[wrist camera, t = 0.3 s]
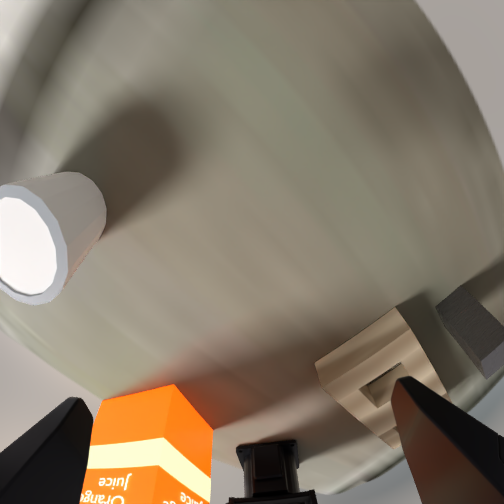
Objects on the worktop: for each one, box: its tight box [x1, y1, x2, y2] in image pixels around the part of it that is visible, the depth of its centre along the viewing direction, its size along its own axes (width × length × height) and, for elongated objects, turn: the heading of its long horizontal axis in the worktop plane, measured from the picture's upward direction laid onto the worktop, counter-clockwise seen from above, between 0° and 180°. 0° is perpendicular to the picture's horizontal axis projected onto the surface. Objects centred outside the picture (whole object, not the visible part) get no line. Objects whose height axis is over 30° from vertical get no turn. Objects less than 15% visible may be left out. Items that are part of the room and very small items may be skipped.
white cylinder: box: [0, 171, 107, 305], centre depth 17 cm, size 7×7×7 cm
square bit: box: [436, 286, 504, 379], centre depth 21 cm, size 3×3×8 cm
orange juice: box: [80, 384, 213, 504], centre depth 19 cm, size 8×9×20 cm
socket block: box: [315, 307, 453, 449], centre depth 26 cm, size 16×8×3 cm, turn 40°
